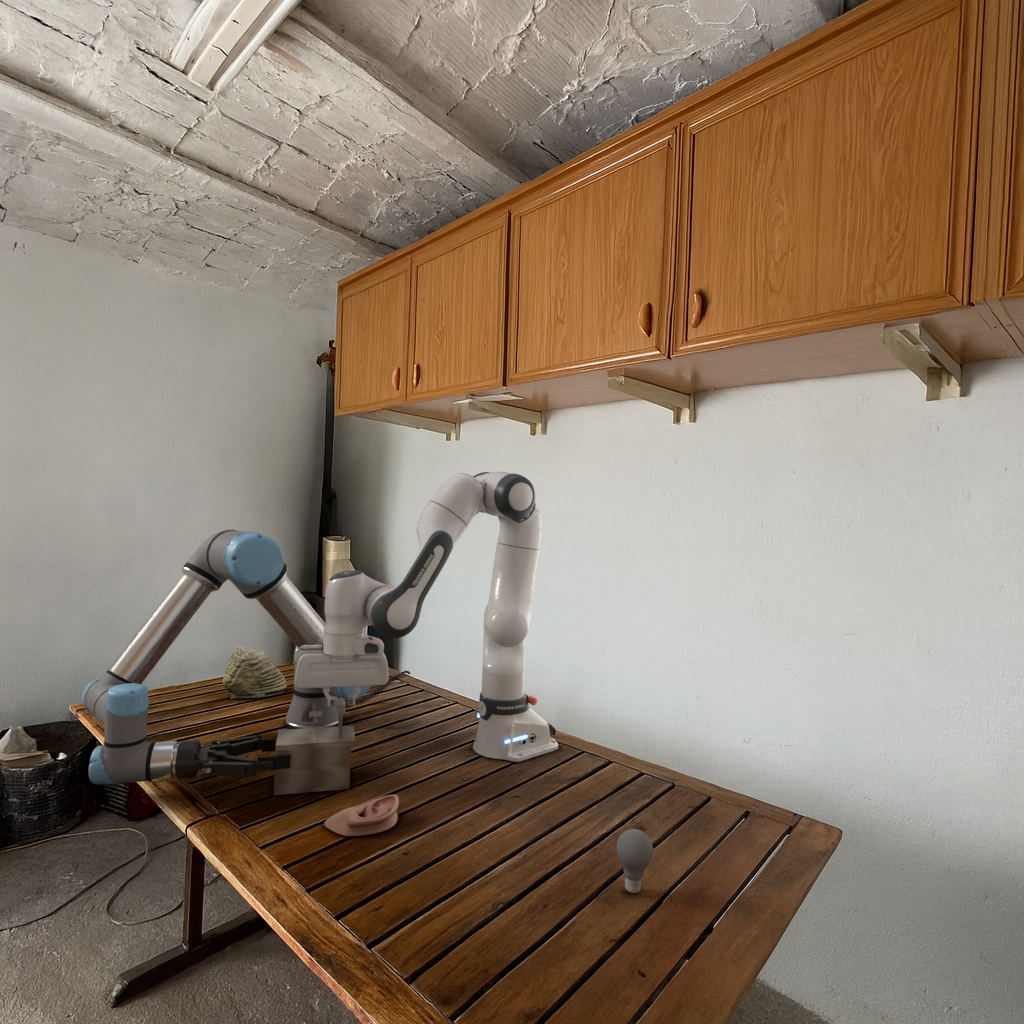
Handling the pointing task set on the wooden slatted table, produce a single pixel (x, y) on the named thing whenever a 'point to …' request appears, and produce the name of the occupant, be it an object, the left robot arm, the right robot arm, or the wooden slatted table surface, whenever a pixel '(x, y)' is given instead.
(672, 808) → the wooden slatted table surface
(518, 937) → the wooden slatted table surface
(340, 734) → the lid
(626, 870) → the light bulb
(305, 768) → the chest
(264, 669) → the fossil
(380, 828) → the anatomical model
